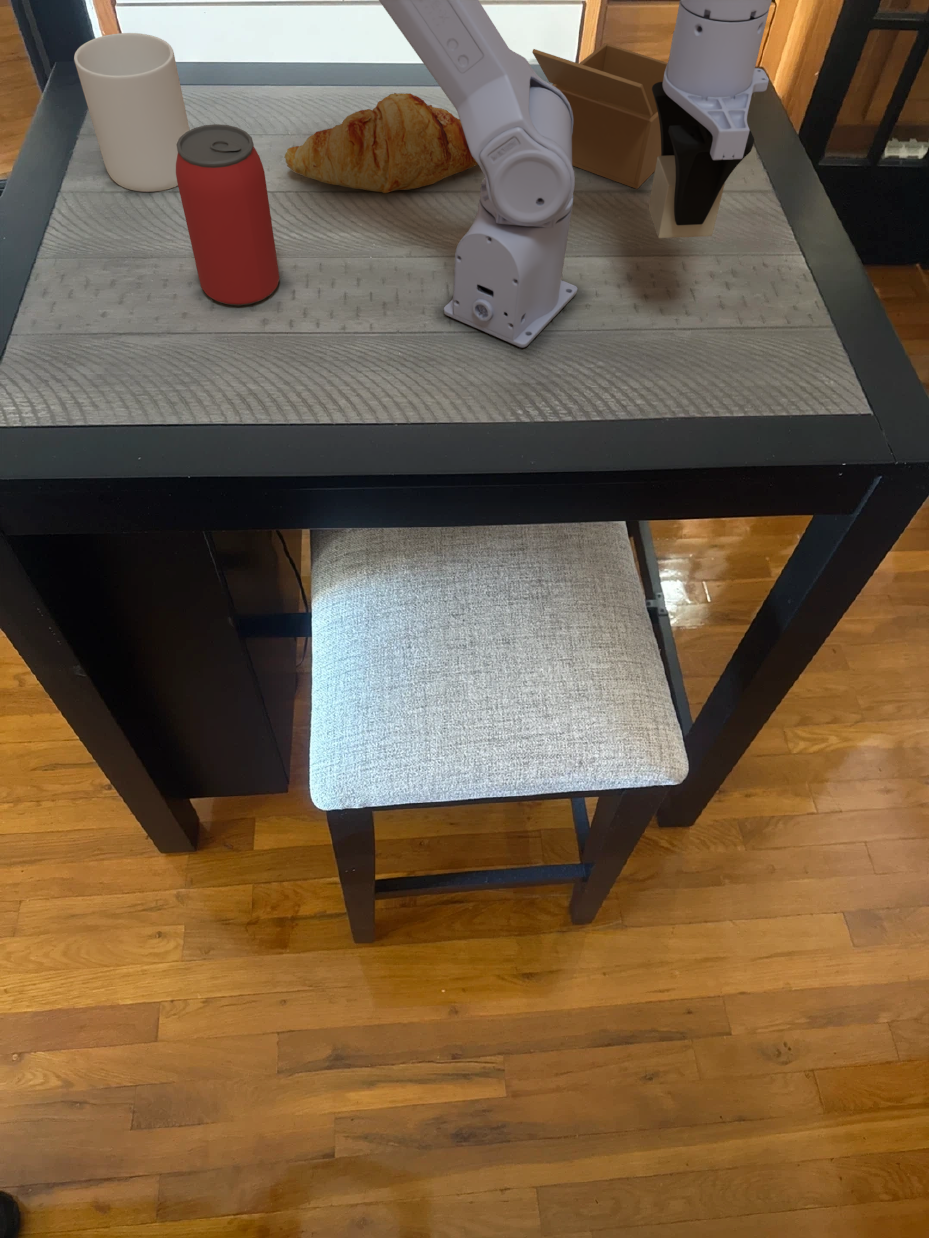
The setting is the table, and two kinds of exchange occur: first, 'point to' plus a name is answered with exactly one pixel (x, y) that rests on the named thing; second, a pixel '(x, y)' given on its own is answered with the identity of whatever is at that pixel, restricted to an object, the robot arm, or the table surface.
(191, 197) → the beer can
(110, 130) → the cup
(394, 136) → the croissant
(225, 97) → the table surface
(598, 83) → the flap
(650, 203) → the block
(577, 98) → the carton
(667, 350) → the table surface
